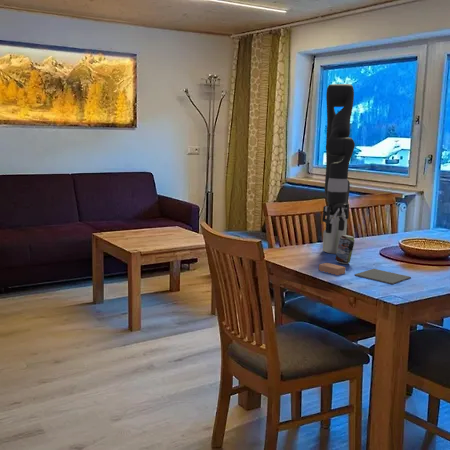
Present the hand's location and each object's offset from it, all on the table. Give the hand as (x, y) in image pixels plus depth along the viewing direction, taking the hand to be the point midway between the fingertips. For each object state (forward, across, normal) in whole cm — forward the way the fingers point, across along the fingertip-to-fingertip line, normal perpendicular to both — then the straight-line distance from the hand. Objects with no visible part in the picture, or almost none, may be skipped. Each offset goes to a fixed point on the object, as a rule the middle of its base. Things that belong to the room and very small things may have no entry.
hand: (334, 231), depth 222 cm
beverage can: (+16, -16, -5) cm, 23 cm away
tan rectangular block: (+16, 0, 0) cm, 16 cm away
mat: (+16, -9, +17) cm, 25 cm away
